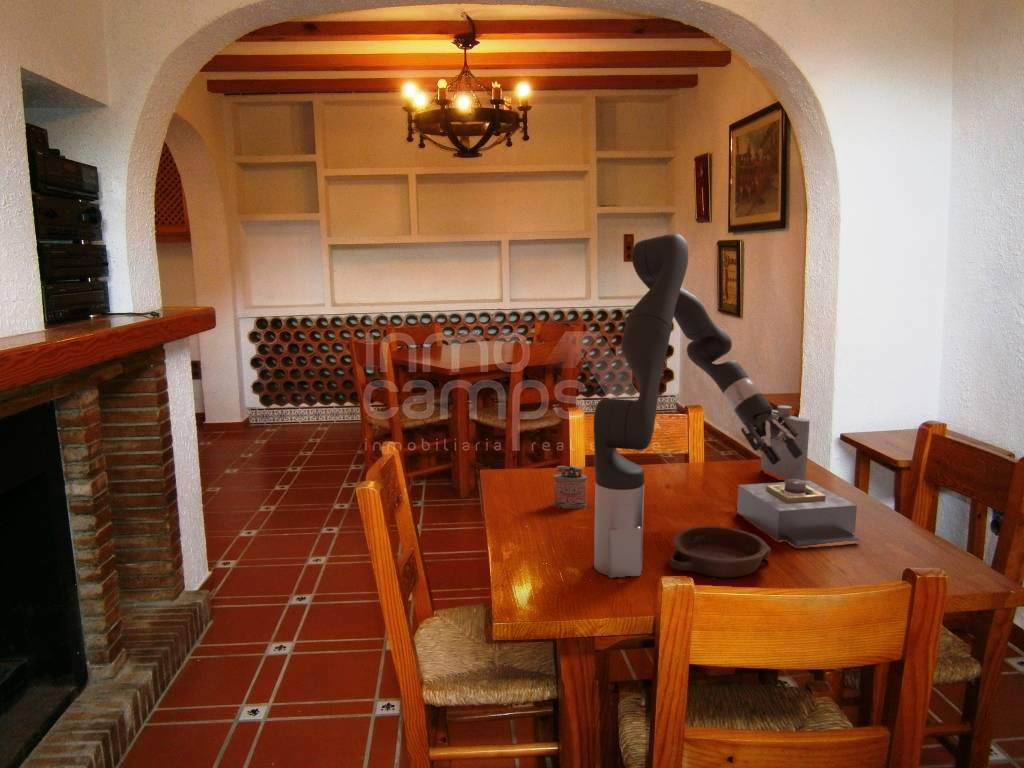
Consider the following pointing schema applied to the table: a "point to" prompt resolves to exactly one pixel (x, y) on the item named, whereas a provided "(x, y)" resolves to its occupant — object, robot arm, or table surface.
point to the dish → (718, 551)
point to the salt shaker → (795, 487)
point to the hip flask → (788, 463)
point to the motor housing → (798, 513)
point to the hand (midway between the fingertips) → (788, 459)
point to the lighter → (570, 488)
